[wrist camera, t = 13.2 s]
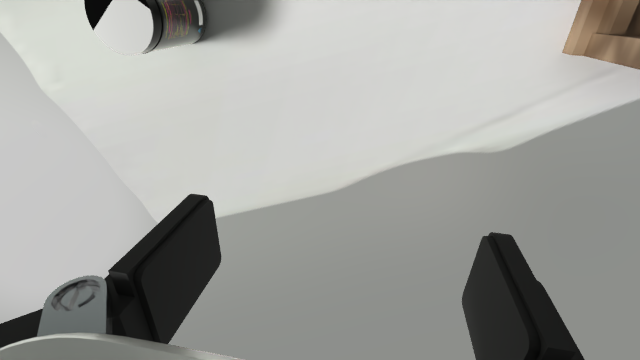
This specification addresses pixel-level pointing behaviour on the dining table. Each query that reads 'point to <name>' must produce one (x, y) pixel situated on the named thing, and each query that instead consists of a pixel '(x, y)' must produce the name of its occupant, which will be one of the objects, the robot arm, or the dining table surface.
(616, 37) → the base
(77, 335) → the robot arm
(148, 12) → the supplement container
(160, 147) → the dining table surface
